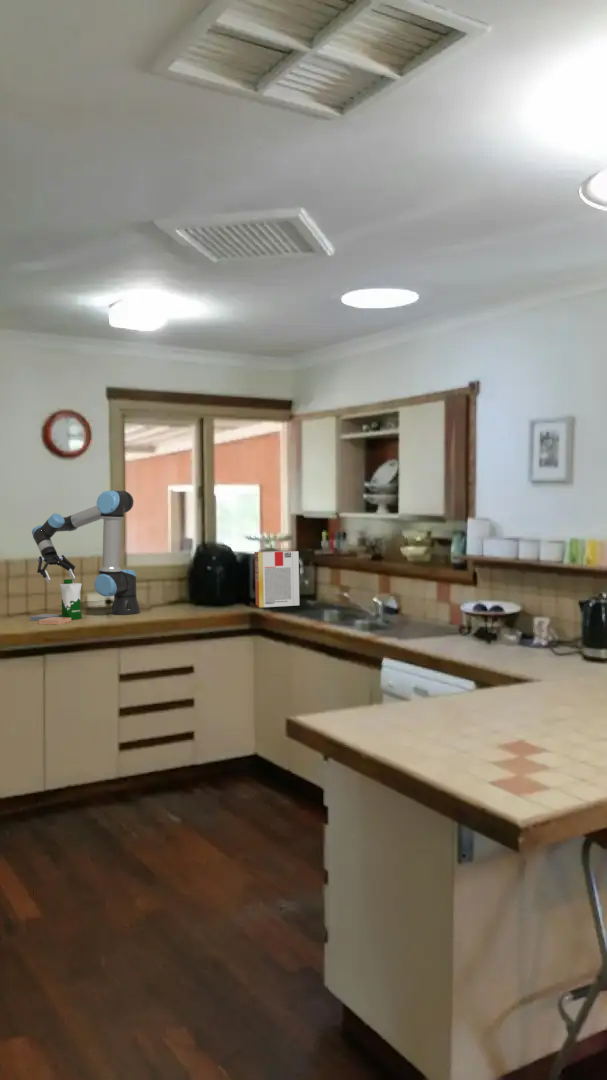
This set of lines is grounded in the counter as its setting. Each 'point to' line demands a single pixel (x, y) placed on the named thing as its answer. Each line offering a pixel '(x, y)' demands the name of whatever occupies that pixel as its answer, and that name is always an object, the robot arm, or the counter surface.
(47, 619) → the terracotta tile
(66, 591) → the soya milk
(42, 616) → the slate tile
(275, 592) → the pasta box
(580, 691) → the counter surface
